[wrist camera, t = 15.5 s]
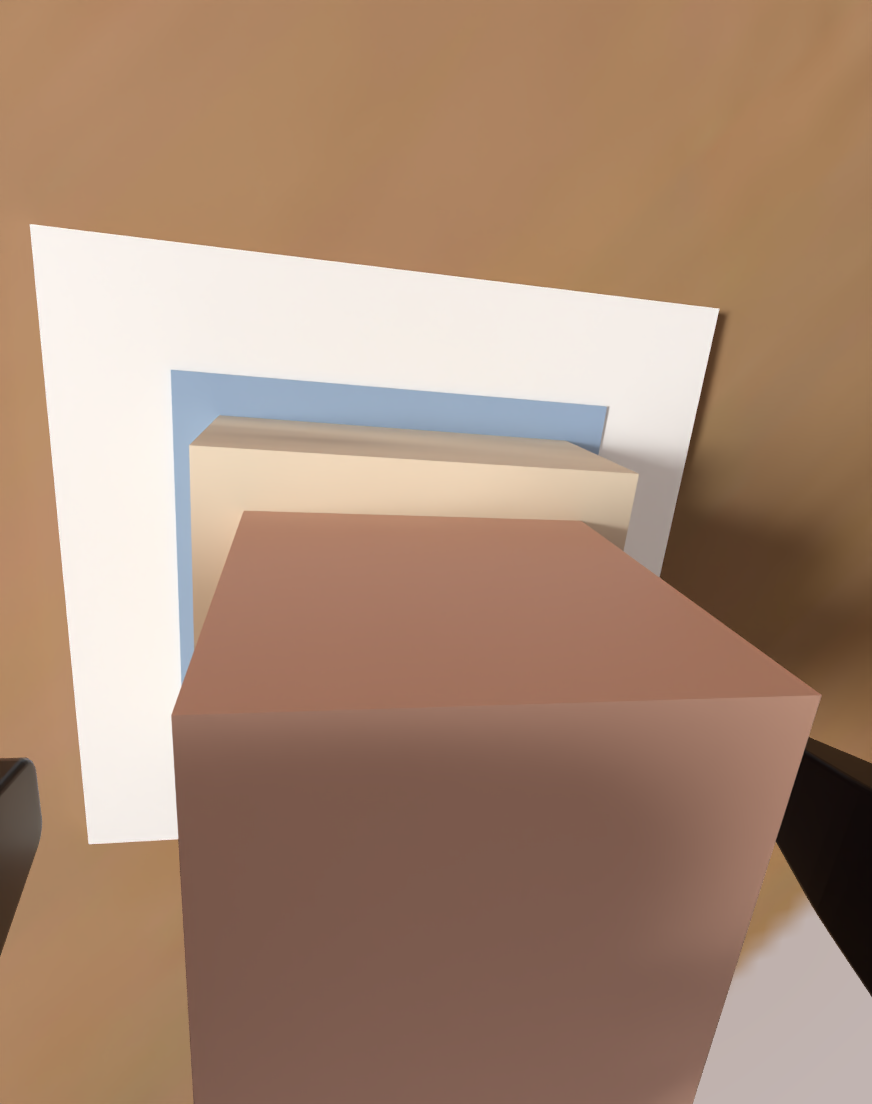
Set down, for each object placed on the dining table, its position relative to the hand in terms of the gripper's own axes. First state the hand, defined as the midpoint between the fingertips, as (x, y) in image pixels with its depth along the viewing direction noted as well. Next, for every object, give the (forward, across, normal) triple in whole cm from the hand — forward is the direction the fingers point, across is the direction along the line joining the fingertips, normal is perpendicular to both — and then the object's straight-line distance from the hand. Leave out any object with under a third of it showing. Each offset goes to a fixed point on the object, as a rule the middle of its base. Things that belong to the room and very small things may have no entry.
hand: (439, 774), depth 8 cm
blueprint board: (+6, 0, 0) cm, 6 cm away
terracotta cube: (+3, 0, 0) cm, 3 cm away
